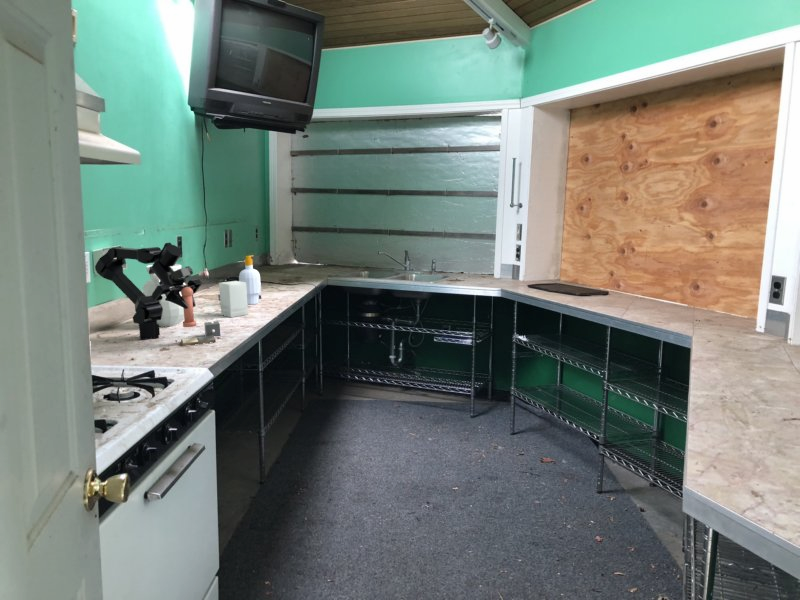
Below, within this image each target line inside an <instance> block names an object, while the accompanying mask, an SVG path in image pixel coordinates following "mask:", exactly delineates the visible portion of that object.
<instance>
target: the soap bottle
mask: <svg viewBox="0 0 800 600" xmlns="http://www.w3.org/2000/svg"><path fill="white" fill-rule="evenodd" d="M254 256H255V255H246V256H245V259H244V267H245V269H242V270H241V271H240V272H239V274H238V275H239V276H238V281H240V282H246V289H247V304H248V306H253V305H258V304H259V303H260V297H259V296H260V295H259V294H260V293H261V292H262V285H261V284H262V283H261V275H260V272H259V270H257V269H255V268H254V267H253V266H254V264H253V258H252V257H254Z"/></svg>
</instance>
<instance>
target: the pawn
mask: <svg viewBox="0 0 800 600" xmlns="http://www.w3.org/2000/svg"><path fill="white" fill-rule="evenodd" d="M181 295H182V296H183V299H184V301H185V302H186V304H187V306H188V308H187V309H185V308H184V319H183V320H184V321H182V326H183V327H184V328H191V327H193V328H194V327H196V326H197V320H195V317H194V314H195V313H194V307H193V300H192V295H193V296H194V294H193V290H192V289H191V288H190V287H184V288H183V289H182V290H181Z"/></svg>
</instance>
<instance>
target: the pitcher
mask: <svg viewBox="0 0 800 600" xmlns="http://www.w3.org/2000/svg"><path fill="white" fill-rule="evenodd" d="M152 265H153V264H149V265H148V264H147V265H146V266H145V268H146V271H147V273H148V275H149V276H150V279H148V281H145V283H144V285H143V286H142V293H143V294H144V295H145V296H152V293H153V292H154V290H155V289H156V287H157V286H159V285H160V284H159V282H160V280H159V278H158V277H157V276H156V274H155V273H154V274H149V270H150V267H151V266H152ZM170 267H171V268H172V269H173V271H176V270H178V269H182V265H181V264H180V263H176V264H175V265H174V266H170ZM183 284H184V285H186V284H187V283H186V282H185V283H183ZM179 293H180V295H181V292H179ZM161 296H162V300H160V302H159V303H160V304H161V305H162V308H163V312H162V317H161V320H157V324H159V327H160V326H166V327H173V325H174V326H177V324H178V325H180V323H181V322H183V320H184V308H183V307H181V306H179V305H177V304H175V303H172V302H170V301H166V300H165V299H166V295H165V294H163V295H161ZM181 297H182V295H181Z"/></svg>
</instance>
